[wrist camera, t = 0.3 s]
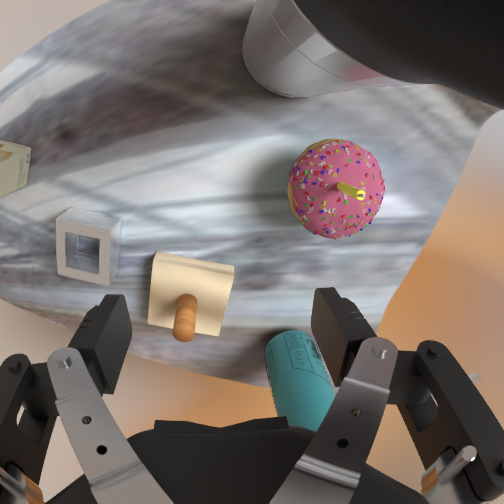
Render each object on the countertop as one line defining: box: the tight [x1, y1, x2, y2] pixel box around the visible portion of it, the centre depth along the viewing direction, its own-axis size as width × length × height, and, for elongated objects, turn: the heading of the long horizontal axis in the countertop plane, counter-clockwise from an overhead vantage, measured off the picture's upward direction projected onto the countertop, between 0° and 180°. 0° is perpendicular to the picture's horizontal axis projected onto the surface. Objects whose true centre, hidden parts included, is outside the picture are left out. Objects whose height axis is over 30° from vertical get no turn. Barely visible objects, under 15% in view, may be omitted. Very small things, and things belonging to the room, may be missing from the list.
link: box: [56, 207, 123, 286], centre depth 26 cm, size 6×6×4 cm
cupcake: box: [287, 139, 385, 239], centre depth 22 cm, size 9×8×12 cm
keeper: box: [148, 251, 234, 342], centre depth 28 cm, size 8×8×7 cm
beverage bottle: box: [264, 330, 335, 432], centre depth 27 cm, size 6×7×20 cm
